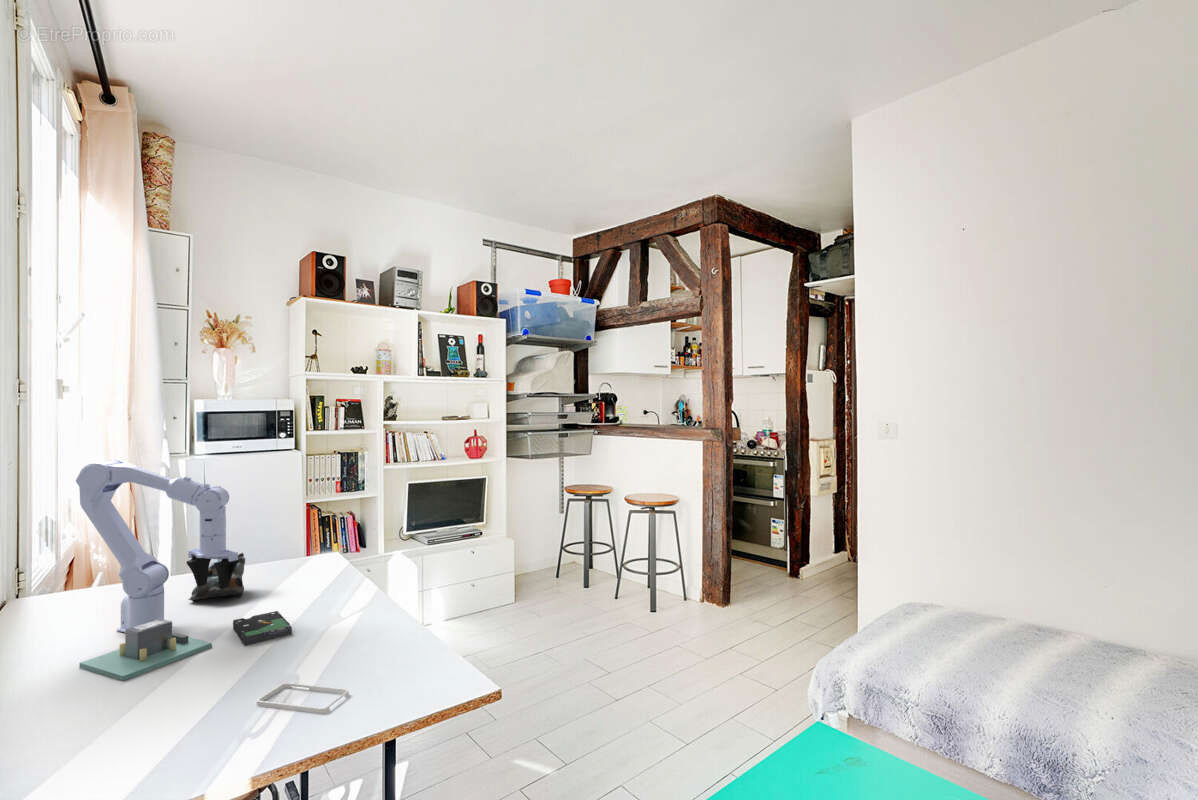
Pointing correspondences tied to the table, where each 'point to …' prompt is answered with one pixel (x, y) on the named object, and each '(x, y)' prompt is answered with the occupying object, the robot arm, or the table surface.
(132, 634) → the dark grey block
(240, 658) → the table surface
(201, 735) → the table surface
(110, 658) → the teal peg board
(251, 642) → the disk drive
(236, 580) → the grey lumpy piece
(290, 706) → the phone case
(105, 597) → the table surface
